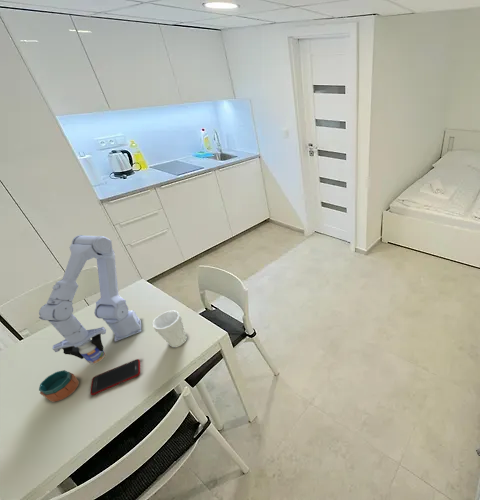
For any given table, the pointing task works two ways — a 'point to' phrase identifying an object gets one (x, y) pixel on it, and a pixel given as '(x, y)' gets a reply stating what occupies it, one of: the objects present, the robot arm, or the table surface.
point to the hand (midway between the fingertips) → (92, 352)
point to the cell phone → (115, 376)
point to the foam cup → (170, 328)
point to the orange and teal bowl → (58, 385)
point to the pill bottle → (91, 352)
